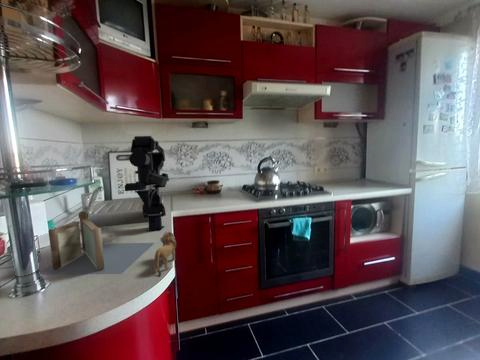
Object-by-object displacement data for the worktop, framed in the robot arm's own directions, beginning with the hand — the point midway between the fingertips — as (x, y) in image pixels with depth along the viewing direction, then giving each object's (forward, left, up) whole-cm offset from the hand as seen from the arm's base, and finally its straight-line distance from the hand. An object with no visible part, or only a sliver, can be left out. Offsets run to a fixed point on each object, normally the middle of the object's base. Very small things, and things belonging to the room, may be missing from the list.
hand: (148, 207), depth 97 cm
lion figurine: (+23, +14, -13) cm, 30 cm away
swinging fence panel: (+20, -10, -12) cm, 25 cm away
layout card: (+17, -9, -13) cm, 23 cm away
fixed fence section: (+18, -18, -13) cm, 29 cm away
